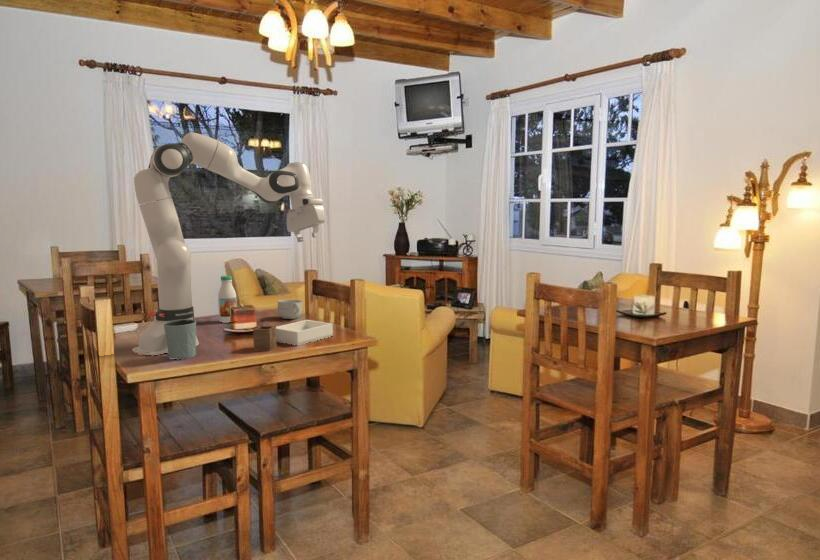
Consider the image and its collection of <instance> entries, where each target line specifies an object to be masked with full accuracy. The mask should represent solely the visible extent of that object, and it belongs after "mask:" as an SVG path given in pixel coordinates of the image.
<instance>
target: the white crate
mask: <svg viewBox="0 0 820 560" xmlns="http://www.w3.org/2000/svg"><path fill="white" fill-rule="evenodd" d="M333 326H334V325H333V323H331V322H326V321H325V322H323V321H319V320H318V321H317V320H312V319H304V320H299V321H297V322H291V323H287V324H282V325H277V326H276V343H282V344H286V343H287V345H291V344H292V346H296V345H297V347H299V346H302V344H303V345H306V343H307V344H310V343H309V342H311V343H315V342H317V340H318V341H321V340H320V339H322V340H325V339H328V337H329V338H332V337H331V336H333V337H334V329H333V328H334V327H333ZM324 338H325V339H324ZM298 345H299V346H298Z"/></svg>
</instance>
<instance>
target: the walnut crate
mask: <svg viewBox="0 0 820 560" xmlns="http://www.w3.org/2000/svg"><path fill="white" fill-rule="evenodd" d="M276 327H277V326H276V325H275V326H274V325H259V326H257V327H255V328H252V334H253V337H252V338H253V351H262V350H271V351H272V350H274V349H275V348H277V344H278V342H276ZM273 348H274V349H273Z"/></svg>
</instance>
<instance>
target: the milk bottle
mask: <svg viewBox="0 0 820 560" xmlns="http://www.w3.org/2000/svg"><path fill="white" fill-rule="evenodd" d="M232 279H233V276H232V275H222V276H220V282H221V286H220V288H219V291H218V294H217V303H218V304H217V306H218V320H219V323H221V322H222V324H228V323H229V322H230V311H231V308H232V307H237V308H238V301H237V292H236V289H235V288H234V286H233V283H232V282H233V280H232Z"/></svg>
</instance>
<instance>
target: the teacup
mask: <svg viewBox="0 0 820 560" xmlns="http://www.w3.org/2000/svg"><path fill="white" fill-rule="evenodd" d="M302 310H303V300H300V299H279V300H277V314H278V315H279V316H280V317H281V318H282V319H284V320H286V319H287V320H292V319H293V320H294V319H298V318H299V317H300V316H301V315H302V313H303V311H302Z"/></svg>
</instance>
